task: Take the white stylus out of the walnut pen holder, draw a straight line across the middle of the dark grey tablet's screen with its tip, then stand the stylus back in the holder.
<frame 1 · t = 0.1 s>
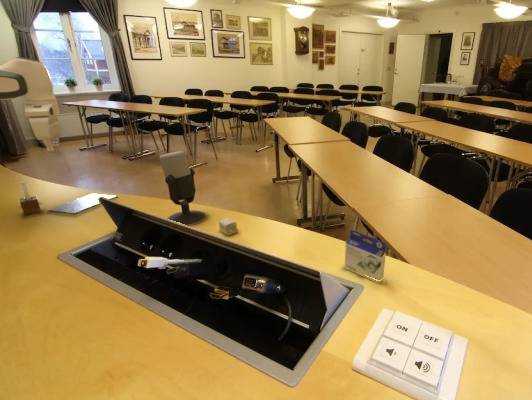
hand: (54, 148, 116), 24 cm above the table, tool pointing down, fingers open, 8 cm apart
tablet: (84, 204, 129), on the table
usb wall charger: (230, 233, 108), on the table
holder: (33, 213, 120), on the table
microphone: (187, 219, 119), on the table
stylus: (32, 212, 120), point 1 cm above the table, touching holder
chess piece: (30, 205, 128), on the table
ink box: (363, 275, 87), on the table
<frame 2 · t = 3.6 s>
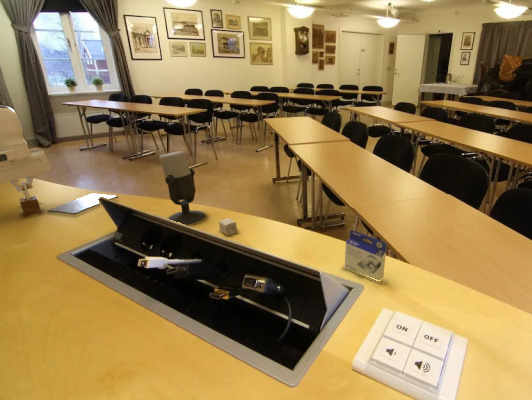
hand: (25, 189, 117), 10 cm above the table, tool pointing down, fingers closed on stylus, 1 cm apart
stylus: (32, 212, 120), point 1 cm above the table, touching gripper
everything else where it was.
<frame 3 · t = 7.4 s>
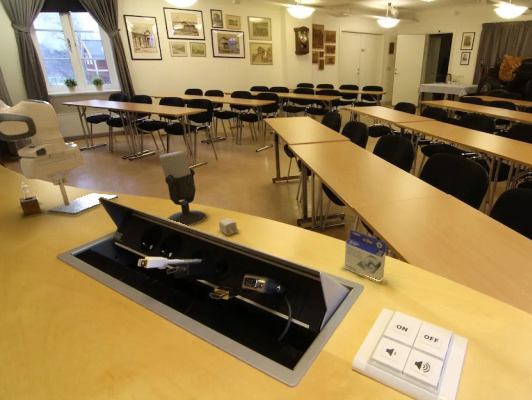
hand: (60, 183, 119), 11 cm above the table, tool pointing down, fingers closed on stylus, 1 cm apart
stylus: (67, 206, 122), point 2 cm above the table, touching gripper
everything else where it was.
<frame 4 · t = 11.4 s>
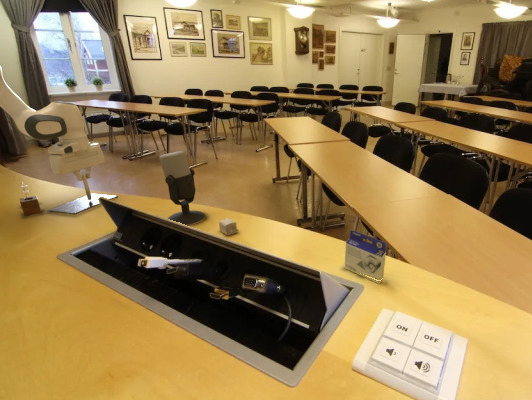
hand: (84, 179, 128), 10 cm above the table, tool pointing down, fingers closed on stylus, 1 cm apart
stylus: (90, 200, 131), point 1 cm above the table, touching gripper
everything else where it was.
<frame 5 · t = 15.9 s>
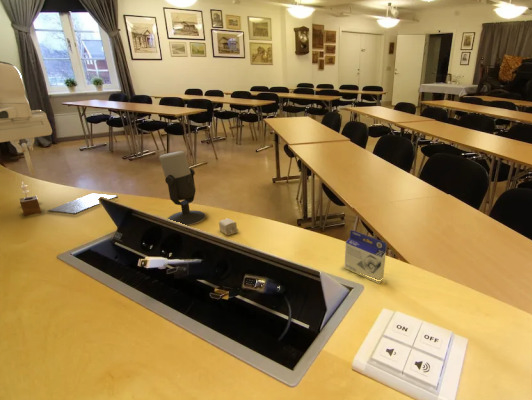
hand: (25, 151, 114), 23 cm above the table, tool pointing down, fingers closed on stylus
stylus: (32, 175, 118), point 14 cm above the table, touching gripper
everything else where it was.
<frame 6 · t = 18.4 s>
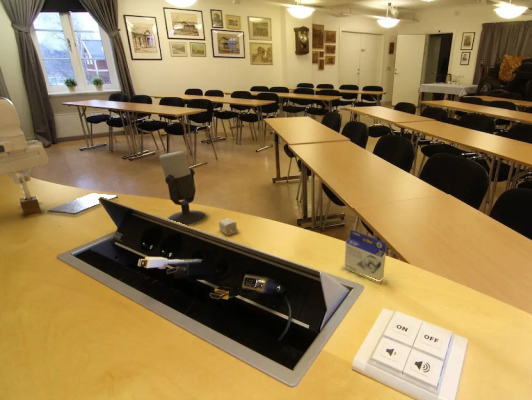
hand: (23, 182, 116), 12 cm above the table, tool pointing down, fingers closed on stylus
stylus: (31, 204, 119), point 4 cm above the table, touching gripper
everything else where it was.
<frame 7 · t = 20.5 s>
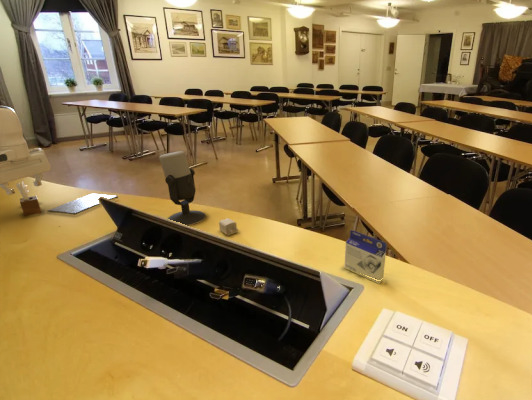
hand: (25, 189, 117), 10 cm above the table, tool pointing down, fingers open, 8 cm apart
stylus: (33, 212, 120), point 1 cm above the table, tilted 8°, touching holder
everything else where it was.
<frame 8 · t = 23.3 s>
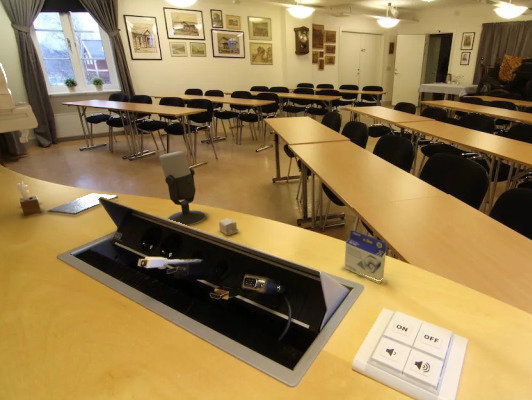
hand: (10, 144, 111), 26 cm above the table, tool pointing down, fingers open, 8 cm apart
nothing on the table moved.
at the end: stylus 0.1 cm off-centre on the holder, point 0.6 cm above the holder's base; stylus tilted 8°; the gripper is holding nothing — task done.
